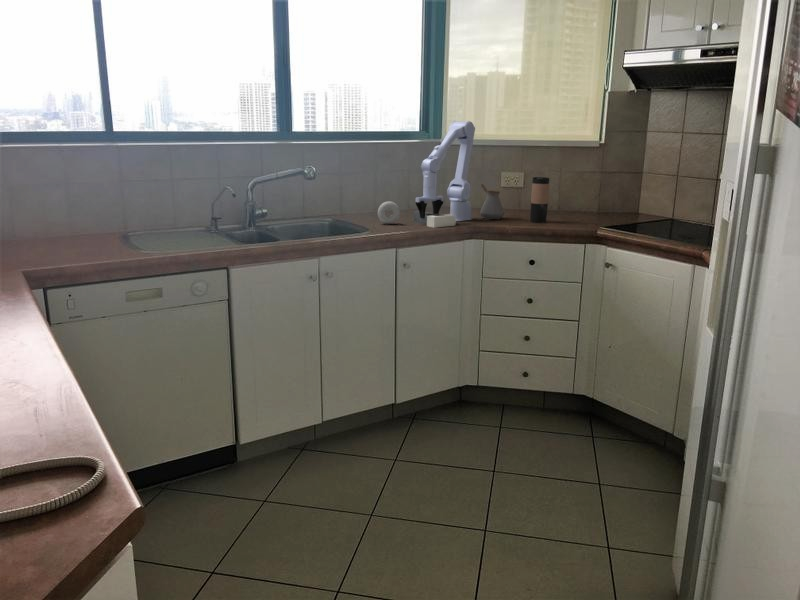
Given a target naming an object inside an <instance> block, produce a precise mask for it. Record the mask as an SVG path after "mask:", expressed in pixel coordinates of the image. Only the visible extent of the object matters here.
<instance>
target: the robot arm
mask: <svg viewBox="0 0 800 600" xmlns="http://www.w3.org/2000/svg"><path fill="white" fill-rule="evenodd" d="M475 132H476V126H475V125H474V123H473V122H472V121H469V120H467V121H456V120H454V121H452V122H451V124H450V125H448V132H446V133H447V134H446V135H445V137H444V138H443V140H442V142H441V144H440V145H439V144H438V145H436V146H434V147H433V150H432V151H431V153H430V154H429V155H428V157H427V158H425V159H423V160H422V162H421V164H420V168H421V171H422V176H423V185H422V187H423V188H422V189H423V192H422V194H423V195H422V196H417V197H415V206H416V207H417V209H418V210H417V211H419V213H420V218H422V219H425V212H426V209H427V205H428V203H426V202H431V203H432V204H431V205H432V213H437V214H440V210H441V208H442V206H443V204H444V196H443V195H437V182H438V181H437V179H438V178H437V177H438V176H437V175H438V173H437V172H438V171H440V169H441V164H442V161H443V160H444V158H445V157H446V156H447V153H448V149H449V148H450V146H451V145H452V144H453V143H454V142H455V141H458V142H459V144H460V147H459V153H458V156H457V157H458V159H457V164H456V170H455V175H454V178H453V179H452V180H451V181H450V183H449V185H448V188H447V191H446V193H447V194H446V195H447V197H448V199H449V201H450V204H449V205H450V209H449V210H450V211H449V214H452V215H456V222H461V221H462V222H463V221H471V220H473V218H471V217H472V204H471V201H469V199H470V197H471V184H470V183H469V182H468V180H467V179H468V175H469V167H470V163H471V157H472V152H473V145H474V137H475Z"/></svg>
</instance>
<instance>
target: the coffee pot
mask: <svg viewBox="0 0 800 600" xmlns="http://www.w3.org/2000/svg"><path fill="white" fill-rule="evenodd" d="M478 187H479V188H480V189H482V188H483V191H484V192H485V193H486V194H487V196H486V198H485V200H484V202H483V204H482V207H481V209H480V212H479V215H480V216H481V217H482V218H483V219H484V218H485V219H484V220H489V219H498V220H500V219H501V218H503V217H504V215H505V210H504V208H503V205H502V203H501V199H500V196H499V195H500V193H501V191H500V190H488V189H487V188H486V186H485V185H484V184H483V183H480V185H479V186H478Z"/></svg>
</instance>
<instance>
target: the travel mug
mask: <svg viewBox="0 0 800 600" xmlns="http://www.w3.org/2000/svg"><path fill="white" fill-rule="evenodd" d="M531 183H532V184H531V197H530V198H531V199H530V214H529V215H530V223H533V222H535V224H545V222H546V223H547V217H548V216H547V215H548V207H549V206H548V205H549V194H550V191H549V190H550V177H546V176H545V177H543V176H540V177H539V176H535V177H533V176H532V182H531Z"/></svg>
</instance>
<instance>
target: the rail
mask: <svg viewBox="0 0 800 600" xmlns="http://www.w3.org/2000/svg"><path fill="white" fill-rule="evenodd" d="M444 214H445V213H443V214H442V213H439V214H437V213H433V212H430V211H429V212H428V211H425V219H422V218H420V213H419V210H413V223H418V224H424V225H427V216H432V215H433V216H445V215H444Z"/></svg>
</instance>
